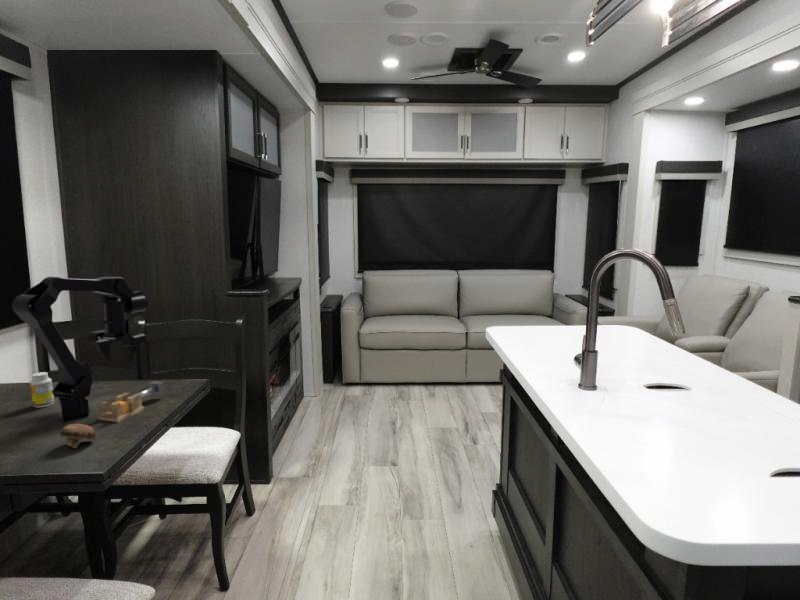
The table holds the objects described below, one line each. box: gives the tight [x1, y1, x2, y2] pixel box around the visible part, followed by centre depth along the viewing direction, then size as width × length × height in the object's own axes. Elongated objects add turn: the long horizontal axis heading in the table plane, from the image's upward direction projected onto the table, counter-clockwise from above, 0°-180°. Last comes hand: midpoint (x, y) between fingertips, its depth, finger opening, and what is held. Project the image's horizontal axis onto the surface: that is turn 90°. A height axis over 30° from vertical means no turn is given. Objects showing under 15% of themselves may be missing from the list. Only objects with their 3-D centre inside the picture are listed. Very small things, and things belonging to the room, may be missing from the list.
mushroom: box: [59, 423, 97, 449], centre depth 129 cm, size 8×8×6 cm
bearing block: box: [98, 392, 146, 423], centre depth 150 cm, size 10×7×5 cm
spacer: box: [110, 400, 129, 414], centre depth 149 cm, size 2×4×3 cm, turn 73°
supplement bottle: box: [29, 371, 55, 409], centre depth 158 cm, size 6×6×10 cm
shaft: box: [130, 380, 166, 399], centre depth 159 cm, size 12×4×4 cm, turn 163°
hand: (119, 363), depth 162 cm, fingers open, 9 cm apart
